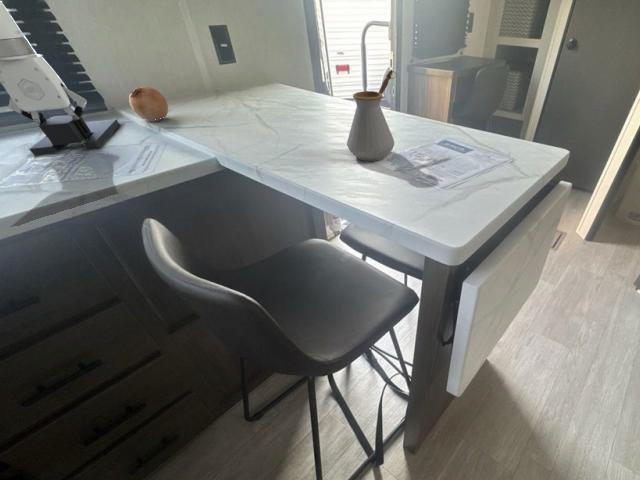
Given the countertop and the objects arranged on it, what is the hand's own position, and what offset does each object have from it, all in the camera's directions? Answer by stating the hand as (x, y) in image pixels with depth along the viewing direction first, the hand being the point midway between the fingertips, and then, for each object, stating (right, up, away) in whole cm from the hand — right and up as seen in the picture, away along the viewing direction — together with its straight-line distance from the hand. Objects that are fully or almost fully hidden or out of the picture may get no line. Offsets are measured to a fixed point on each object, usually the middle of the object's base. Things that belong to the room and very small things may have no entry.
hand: (71, 136), depth 81 cm
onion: (+10, +13, +16) cm, 23 cm away
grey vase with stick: (+80, -3, 0) cm, 80 cm away
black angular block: (0, 0, 0) cm, 1 cm away
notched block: (-3, +2, +5) cm, 6 cm away
